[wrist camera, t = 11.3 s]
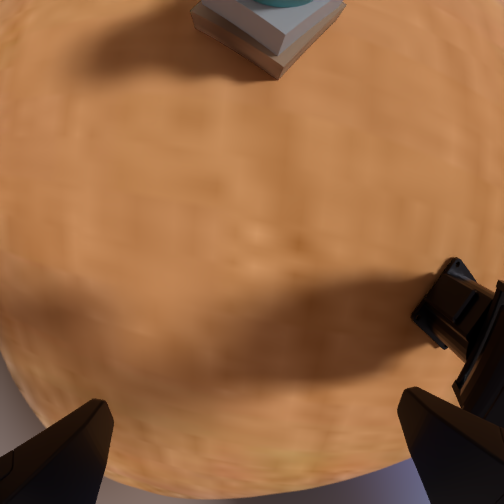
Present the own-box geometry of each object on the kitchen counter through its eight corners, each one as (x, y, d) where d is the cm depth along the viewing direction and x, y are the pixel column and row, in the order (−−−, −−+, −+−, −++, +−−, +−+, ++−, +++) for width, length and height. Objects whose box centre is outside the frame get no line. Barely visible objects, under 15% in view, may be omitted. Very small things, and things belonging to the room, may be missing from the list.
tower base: (334, 23, 16) (346, 4, 13) (277, 82, 17) (283, 67, 14) (257, -24, 15) (260, -46, 12) (196, 30, 16) (190, 10, 13)
